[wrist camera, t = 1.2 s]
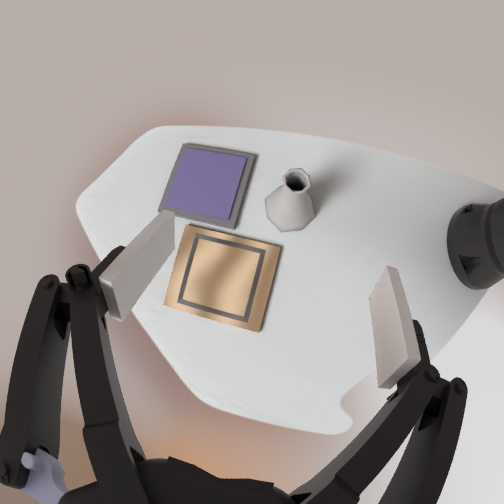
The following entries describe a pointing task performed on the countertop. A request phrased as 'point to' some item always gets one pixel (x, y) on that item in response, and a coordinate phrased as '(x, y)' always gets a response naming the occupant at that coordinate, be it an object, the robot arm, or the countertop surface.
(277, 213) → the flask
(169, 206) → the ink pad
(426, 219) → the countertop surface
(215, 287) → the marked board
